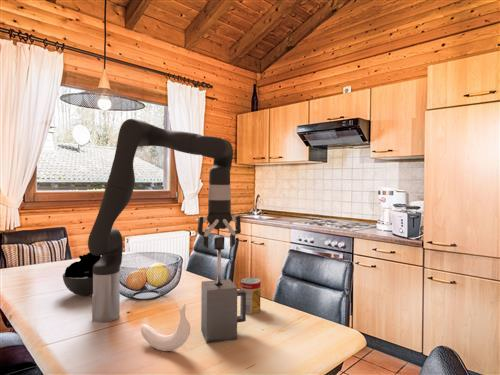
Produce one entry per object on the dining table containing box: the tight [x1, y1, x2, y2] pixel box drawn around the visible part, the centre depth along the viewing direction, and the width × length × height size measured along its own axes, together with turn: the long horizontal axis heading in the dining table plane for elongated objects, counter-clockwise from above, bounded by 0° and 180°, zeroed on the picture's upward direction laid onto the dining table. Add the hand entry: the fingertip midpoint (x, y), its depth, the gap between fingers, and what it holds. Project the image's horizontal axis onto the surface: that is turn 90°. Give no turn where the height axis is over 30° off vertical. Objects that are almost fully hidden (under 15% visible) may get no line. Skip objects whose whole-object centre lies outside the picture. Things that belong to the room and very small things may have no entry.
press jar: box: [200, 279, 247, 344], centre depth 118 cm, size 14×10×17 cm
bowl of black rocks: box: [62, 251, 102, 297], centre depth 156 cm, size 20×20×19 cm
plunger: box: [213, 235, 225, 286], centre depth 117 cm, size 3×3×18 cm
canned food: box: [240, 277, 262, 315], centre depth 140 cm, size 8×8×12 cm
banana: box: [140, 303, 191, 352], centre depth 107 cm, size 5×19×15 cm, turn 67°
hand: (219, 247), depth 117 cm, fingers open, 8 cm apart
